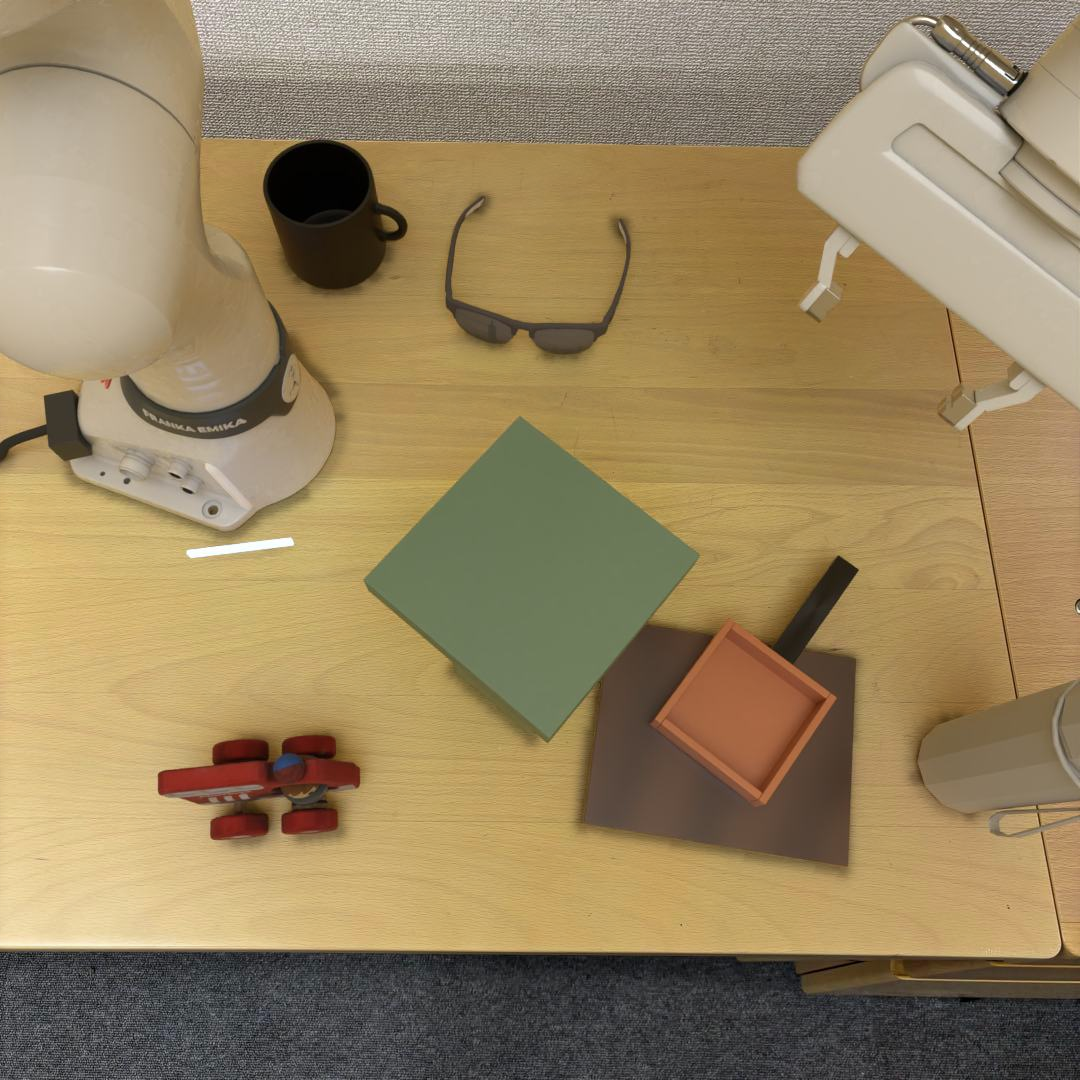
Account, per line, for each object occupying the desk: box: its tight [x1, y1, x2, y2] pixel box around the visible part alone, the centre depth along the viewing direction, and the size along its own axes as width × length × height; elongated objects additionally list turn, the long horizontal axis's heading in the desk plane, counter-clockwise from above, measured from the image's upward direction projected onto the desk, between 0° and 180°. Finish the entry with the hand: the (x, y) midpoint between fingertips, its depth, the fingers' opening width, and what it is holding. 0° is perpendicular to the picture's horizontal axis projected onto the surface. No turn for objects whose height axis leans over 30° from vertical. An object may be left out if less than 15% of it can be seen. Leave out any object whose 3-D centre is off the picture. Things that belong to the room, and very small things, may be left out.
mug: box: [262, 138, 409, 290], centre depth 82 cm, size 9×12×9 cm
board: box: [581, 624, 857, 868], centre depth 72 cm, size 20×16×2 cm
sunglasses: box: [444, 195, 632, 355], centre depth 85 cm, size 16×17×5 cm
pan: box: [649, 554, 860, 807], centre depth 72 cm, size 20×10×3 cm, turn 142°
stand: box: [363, 415, 701, 744], centre depth 62 cm, size 13×13×26 cm
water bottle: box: [917, 677, 1080, 839], centre depth 60 cm, size 9×8×25 cm
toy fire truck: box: [157, 734, 361, 841], centre depth 65 cm, size 7×12×10 cm, turn 95°
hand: (878, 366), depth 49 cm, fingers open, 8 cm apart
